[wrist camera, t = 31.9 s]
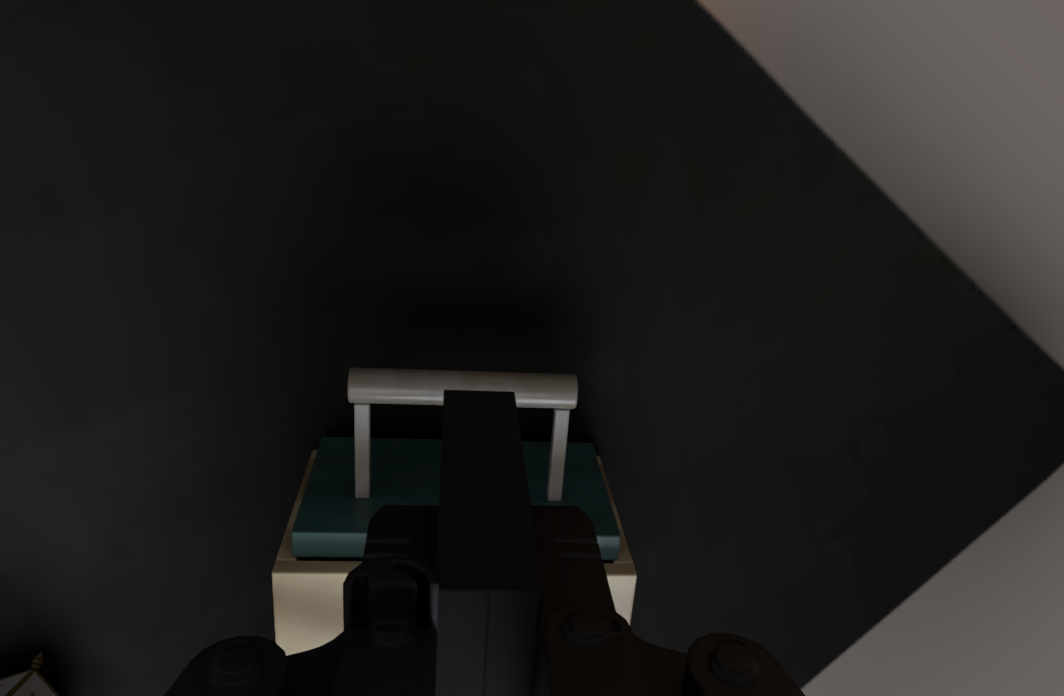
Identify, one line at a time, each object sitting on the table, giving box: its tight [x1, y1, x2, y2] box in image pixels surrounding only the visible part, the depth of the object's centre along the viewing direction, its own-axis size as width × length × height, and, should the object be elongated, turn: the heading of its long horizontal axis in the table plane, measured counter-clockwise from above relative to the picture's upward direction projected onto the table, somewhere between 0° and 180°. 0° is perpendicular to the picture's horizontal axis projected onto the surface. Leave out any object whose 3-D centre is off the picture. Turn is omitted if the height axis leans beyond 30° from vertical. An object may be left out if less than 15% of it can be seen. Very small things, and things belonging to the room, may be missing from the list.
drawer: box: [291, 367, 621, 561], centre depth 38 cm, size 20×13×8 cm, turn 176°
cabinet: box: [272, 450, 637, 656], centre depth 39 cm, size 15×14×10 cm
